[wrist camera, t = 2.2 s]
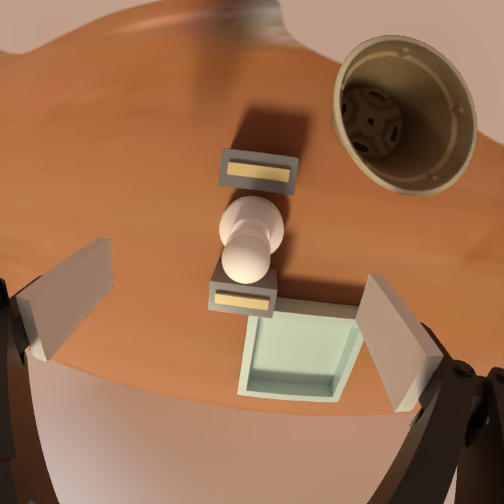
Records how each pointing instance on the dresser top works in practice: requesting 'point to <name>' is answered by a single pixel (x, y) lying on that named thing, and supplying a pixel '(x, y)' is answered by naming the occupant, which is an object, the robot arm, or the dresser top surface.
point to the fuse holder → (263, 179)
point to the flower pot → (405, 115)
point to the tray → (300, 351)
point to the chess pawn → (250, 237)
